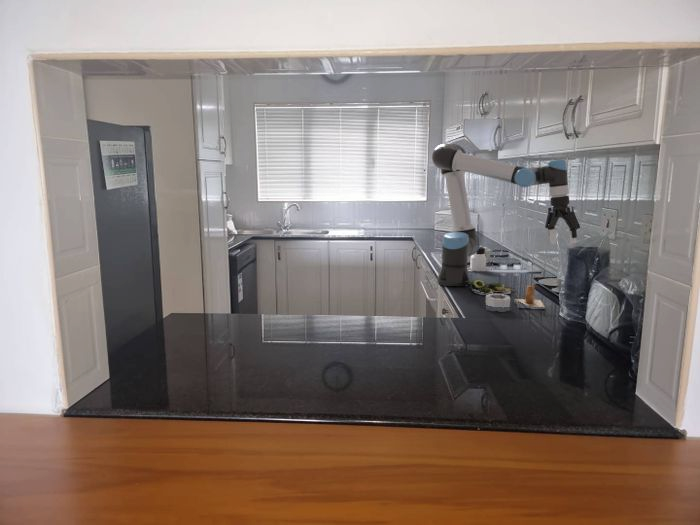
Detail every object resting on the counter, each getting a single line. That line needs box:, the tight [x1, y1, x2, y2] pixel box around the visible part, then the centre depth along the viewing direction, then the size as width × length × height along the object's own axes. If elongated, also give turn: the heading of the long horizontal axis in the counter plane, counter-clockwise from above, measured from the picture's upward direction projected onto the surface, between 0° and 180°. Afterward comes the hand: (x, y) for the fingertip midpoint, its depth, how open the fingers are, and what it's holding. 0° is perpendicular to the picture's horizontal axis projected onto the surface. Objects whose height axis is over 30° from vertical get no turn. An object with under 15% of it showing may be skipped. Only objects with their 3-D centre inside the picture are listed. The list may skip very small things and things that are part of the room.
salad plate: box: [469, 278, 516, 295], centre depth 222 cm, size 19×18×5 cm
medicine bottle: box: [469, 246, 487, 272], centre depth 264 cm, size 7×7×12 cm
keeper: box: [514, 284, 546, 309], centre depth 200 cm, size 10×10×8 cm
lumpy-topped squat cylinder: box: [468, 245, 492, 264], centre depth 285 cm, size 10×13×9 cm
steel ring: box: [485, 293, 511, 308], centre depth 196 cm, size 9×9×5 cm
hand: (563, 244), depth 220 cm, fingers open, 13 cm apart
